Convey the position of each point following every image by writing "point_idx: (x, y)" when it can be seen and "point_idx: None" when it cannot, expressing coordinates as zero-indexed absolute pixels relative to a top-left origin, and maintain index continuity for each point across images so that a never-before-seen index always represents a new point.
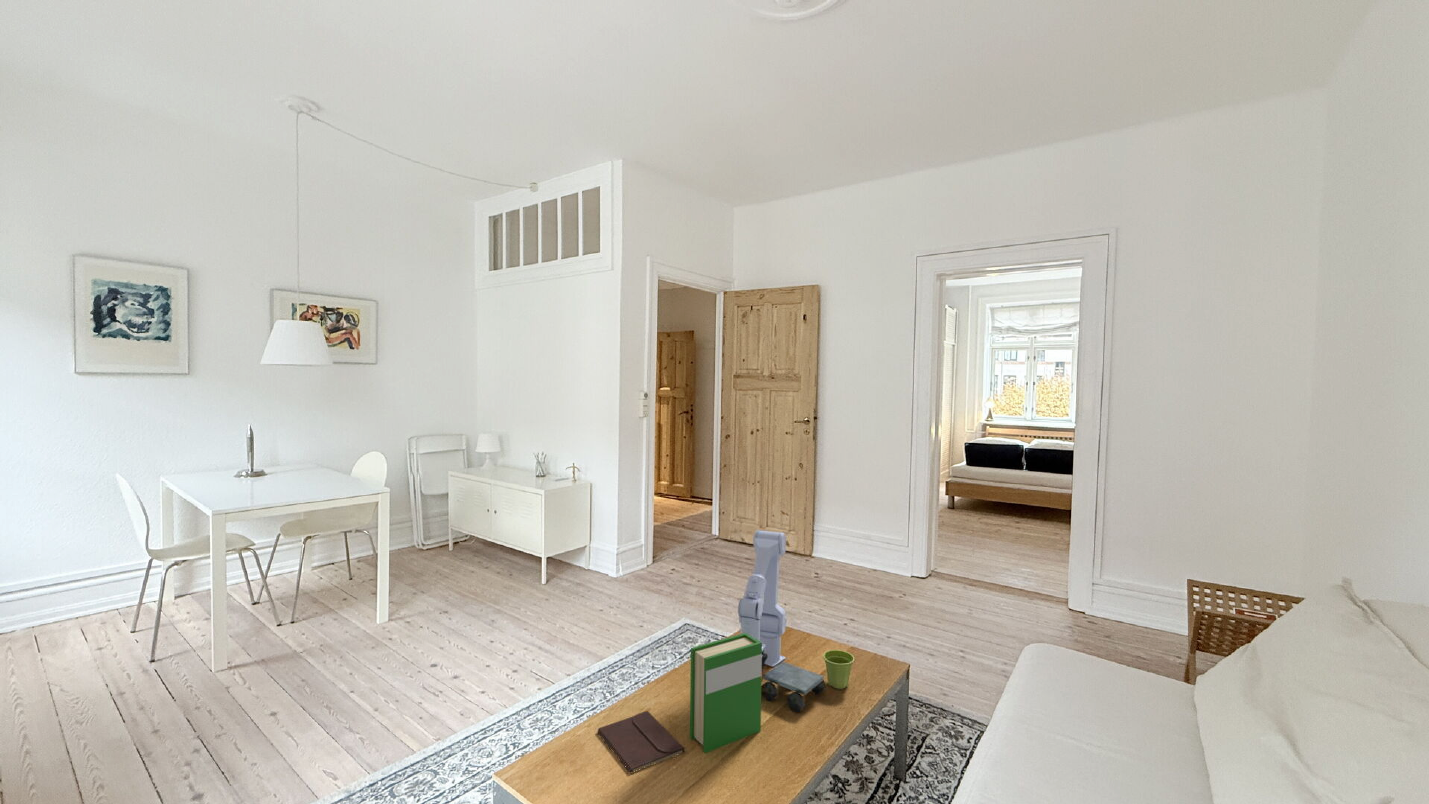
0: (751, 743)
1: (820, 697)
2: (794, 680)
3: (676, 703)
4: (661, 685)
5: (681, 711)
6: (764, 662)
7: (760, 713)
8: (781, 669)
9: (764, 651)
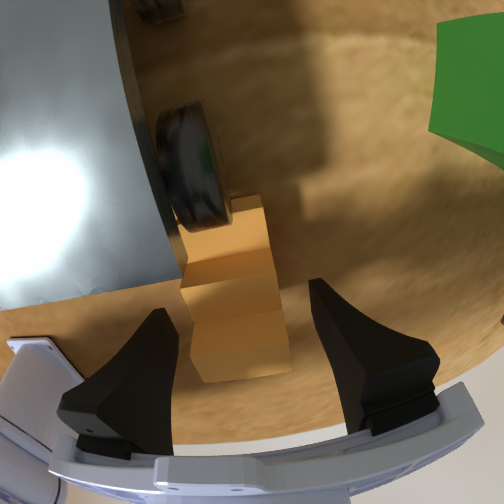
0: None
1: None
2: (22, 53)
3: (452, 336)
4: None
5: (477, 302)
6: (97, 373)
7: (493, 15)
8: (15, 255)
9: (68, 438)
